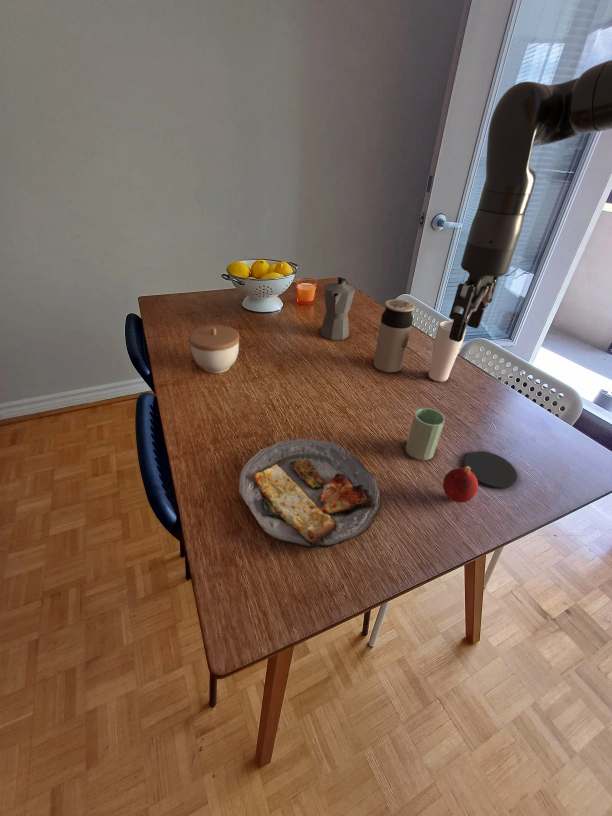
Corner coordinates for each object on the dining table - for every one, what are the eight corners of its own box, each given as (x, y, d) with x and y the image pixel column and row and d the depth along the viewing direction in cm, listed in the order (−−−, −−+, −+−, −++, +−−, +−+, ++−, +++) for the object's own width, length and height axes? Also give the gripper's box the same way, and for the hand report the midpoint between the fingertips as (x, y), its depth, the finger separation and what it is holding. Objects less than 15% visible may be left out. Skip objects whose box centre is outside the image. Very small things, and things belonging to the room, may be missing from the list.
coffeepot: (345, 345, 120) (352, 286, 110) (315, 340, 122) (319, 282, 112) (353, 325, 133) (361, 271, 122) (326, 321, 134) (331, 267, 124)
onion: (470, 516, 70) (485, 484, 65) (437, 506, 71) (448, 474, 66) (471, 492, 74) (485, 461, 69) (439, 483, 76) (451, 452, 71)
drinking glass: (453, 384, 105) (470, 332, 97) (428, 383, 105) (443, 331, 96) (446, 371, 111) (462, 321, 102) (422, 370, 111) (436, 319, 102)
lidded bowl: (245, 375, 103) (243, 336, 97) (195, 381, 99) (190, 341, 93) (235, 352, 113) (233, 316, 106) (189, 358, 109) (184, 320, 102)
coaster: (498, 451, 84) (499, 449, 84) (526, 486, 76) (527, 484, 76) (454, 454, 83) (455, 453, 82) (479, 490, 75) (480, 489, 74)
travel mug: (367, 364, 112) (377, 302, 101) (385, 356, 116) (397, 296, 106) (389, 376, 107) (402, 313, 97) (407, 367, 112) (422, 306, 101)
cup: (426, 440, 86) (437, 407, 81) (438, 459, 81) (450, 424, 76) (401, 442, 85) (410, 408, 80) (411, 461, 80) (421, 426, 75)
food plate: (404, 515, 69) (409, 502, 67) (289, 580, 58) (290, 566, 56) (322, 434, 85) (324, 421, 83) (221, 473, 75) (219, 459, 72)
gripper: (500, 253, 58) (469, 352, 68) (528, 239, 67) (497, 328, 77) (452, 243, 62) (428, 338, 71) (484, 231, 71) (459, 317, 80)
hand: (464, 333), depth 74 cm, fingers open, 8 cm apart
